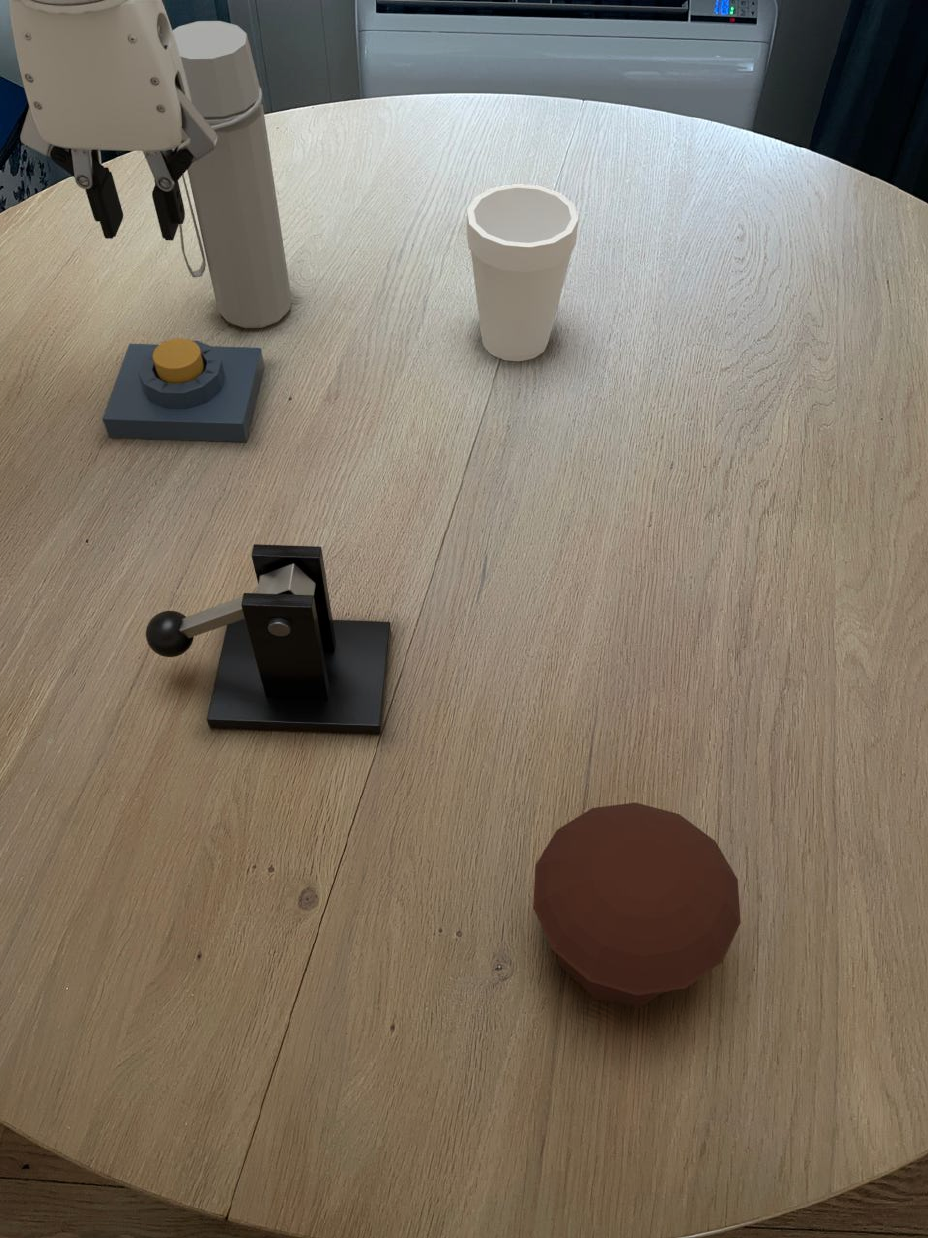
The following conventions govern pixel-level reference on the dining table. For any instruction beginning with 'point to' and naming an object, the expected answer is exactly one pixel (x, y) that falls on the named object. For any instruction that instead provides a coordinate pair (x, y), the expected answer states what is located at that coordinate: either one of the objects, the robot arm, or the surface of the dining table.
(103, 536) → the dining table surface
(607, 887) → the muffin
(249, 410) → the button housing
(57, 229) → the dining table surface
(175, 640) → the tap lever
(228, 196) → the water bottle
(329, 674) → the bracket
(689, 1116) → the dining table surface
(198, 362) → the button
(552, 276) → the foam cup
